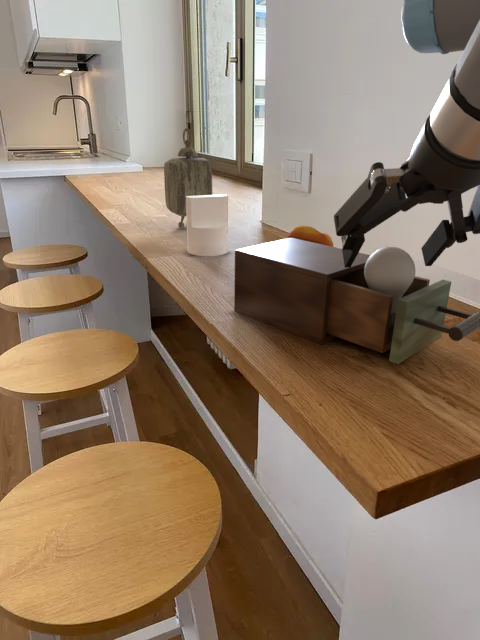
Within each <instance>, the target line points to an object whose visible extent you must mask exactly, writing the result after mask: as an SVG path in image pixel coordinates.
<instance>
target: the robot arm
mask: <svg viewBox="0 0 480 640" xmlns="http://www.w3.org/2000/svg"><path fill="white" fill-rule="evenodd" d="M400 20H401V24H402V25H401V28H402V33H403V36H404V39H405V41H406V43H407V44H408V46H409V47H410V48H411V49H412V50H413V51H415V52H417V53H420V54H439V53H440V54H441V55H448V54H449V53H455V52H461V51H462V54H461V55H460V57H459V59H458V61H457V63H456V64H455V66H454V68H453V70H452V71H451V74H450V76H449V78H448V80H447V82H446V83H445V85H444V87H443V89H442V91H441V93H440V94H439V97H438V98H437V100H436V102H435V104H434V106H433V108H432V110H431V112H430V114H429V115H428V117H427V118H426V120H425V122H424V124H423V125H422V127H421V130H420V131H419V132H418V135H417V137H416V138H415V141H414V142H413V146H412V148H411V152H410V155H409V157H408V159H406V160H405V161H404V162H403V163H402V164H400V165H399V167H397V168H385V167H384V166H385V165H384V163H383V162H381V161H378V162H374V163H373V164H371V166H370V168H369V172H368V174H367V177H366V178H365V180H363V182H362V183H361V184H360V185H359V186H358V187H357V188H356V190H354V192H353V193H352V194H351V195H350V196H349V197H348V199H346V201H345V202H344V203H343V204H342V206H341V207H340V208H339V209H338V210H337V211H336V212H335V214H334V215H333V222H334V229H335V234H336V236H337V237H340V239H341V246H342V248H341V249H342V253H343V259H344V266H345V268H350V267H351V266H352V264H353V262H354V260H355V258H356V256H357V254H358V253H360V251H361V249H362V247H363V245H364V243H365V242H366V238H365V235H366V234H367V233H369V232H371V230H373V229H374V228H377V226H379V225H381V224H382V223H384V222H385V221H388V219H391V218H392V217H393V216H394V215H396V214H398V213H400V212H403V213H405V212H408V211H409V210H411V209H412V208H414V207H416V206H417V205H423V204H429V203H430V204H435V205H436V204H437V205H443V204H444V203H445V202H447V205H448V206H447V207H448V212H449V217H450V220H449V219H442V220H441V221H440V223H439V224H438V225H437V226H436V228H435V229H434V230H433V232H432V233H431V235H430V236H429V237H428V239H427V240H426V241H425V243H424V244H423V245H422V246H421V248H420V249H421V253H422V256H423V263H424V267H432V265H433V264H434V263H435V262H436V261H437V259H438V258H440V256H441V255H442V253H444V251H445V250H446V249H449V248H451V247H452V246H453V245H454V244H455V243H458V244H462V243H466V242H467V241H468V235H467V233H469V232H472V235H479V234H480V0H402V5H401V14H400ZM474 188H476V190H475V193H474V196H473V199H472V202H471V205H470V207H469V211H468V212H467V216H464V209H463V208H464V205H463V200H462V199H463V198H462V195H463V194H464V193H466V192H468V191H470V190H472V189H474Z"/></svg>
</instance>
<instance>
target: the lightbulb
mask: <svg viewBox="0 0 480 640" xmlns="http://www.w3.org/2000/svg"><path fill="white" fill-rule="evenodd" d="M370 255H371V256H370V257H369V258H368V260H367V262H366V264H365V268H364V275H365V279H366V282H367V284H368V287H369V289H372V290H375V291H379V292H383V293H386V294H390V295H393V302H392V309H391V316H390V323H389V328H390V327H392V326H393V324H394V319H395V313H396V309H397V302H398V299H400V298H402V296H403V294H404V293H405V292H406V290H407V289H408V288H409V286H410V285H411V283H412V282H413V279H414V277H415V276H416V265H415V261H414V259H413V258H412V256H411V255H410V254H409V253H408V252H407V251H406V250H404V249H402V248H400V247H397V246H384V247H381V248H379V249H377V250H374V251H373V253H371V254H370Z"/></svg>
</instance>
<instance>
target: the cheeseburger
mask: <svg viewBox="0 0 480 640" xmlns="http://www.w3.org/2000/svg"><path fill="white" fill-rule="evenodd" d="M286 238H295V239H299V240H304V241H309V242H313V243H318V244H322V245H327V246H331V247H335V246H334V245H335V244H334V242H333V240H332V237H331V236H330V235H329V234H328V233H326V232H320V231H319V230H317V229H316V228H314V227H312V226H307V225H298V226H296V227H294V228H293V229H291V231H290V232H289V233H288V235H287V237H286Z"/></svg>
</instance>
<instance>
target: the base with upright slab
mask: <svg viewBox="0 0 480 640" xmlns="http://www.w3.org/2000/svg"><path fill="white" fill-rule="evenodd" d="M186 214H187V216H186V245H187V246H186V248H187V249H186V251H187V253H188V254H190V255H192V256H198V257H217V256H223V255H226V254H227V253H228V252H229V195H227V194H223V193H221V194H219V193H218V194H212V195H196V196H186Z"/></svg>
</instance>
